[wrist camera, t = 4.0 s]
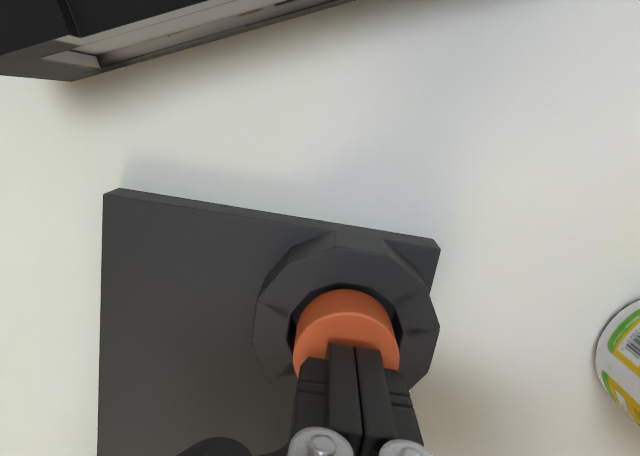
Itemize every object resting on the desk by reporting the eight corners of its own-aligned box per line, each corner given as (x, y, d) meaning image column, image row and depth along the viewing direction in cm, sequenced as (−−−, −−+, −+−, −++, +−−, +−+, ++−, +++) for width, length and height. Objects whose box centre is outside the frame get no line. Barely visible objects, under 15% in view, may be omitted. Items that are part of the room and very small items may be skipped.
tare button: (304, 280, 14) (300, 304, 12) (401, 296, 14) (410, 321, 12) (290, 365, 15) (285, 398, 13) (381, 379, 15) (387, 414, 13)
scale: (118, 185, 16) (72, 203, 13) (435, 237, 16) (457, 266, 13) (107, 515, 20) (71, 582, 18) (357, 551, 21) (361, 623, 18)
